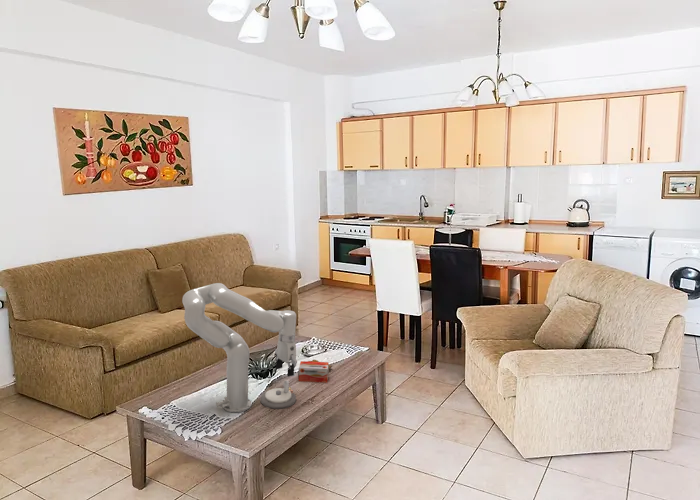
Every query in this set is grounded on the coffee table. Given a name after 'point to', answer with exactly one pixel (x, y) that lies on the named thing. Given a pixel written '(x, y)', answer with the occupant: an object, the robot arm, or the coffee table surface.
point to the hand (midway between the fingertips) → (284, 372)
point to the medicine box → (313, 372)
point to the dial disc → (279, 394)
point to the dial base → (278, 405)
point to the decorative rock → (318, 361)
